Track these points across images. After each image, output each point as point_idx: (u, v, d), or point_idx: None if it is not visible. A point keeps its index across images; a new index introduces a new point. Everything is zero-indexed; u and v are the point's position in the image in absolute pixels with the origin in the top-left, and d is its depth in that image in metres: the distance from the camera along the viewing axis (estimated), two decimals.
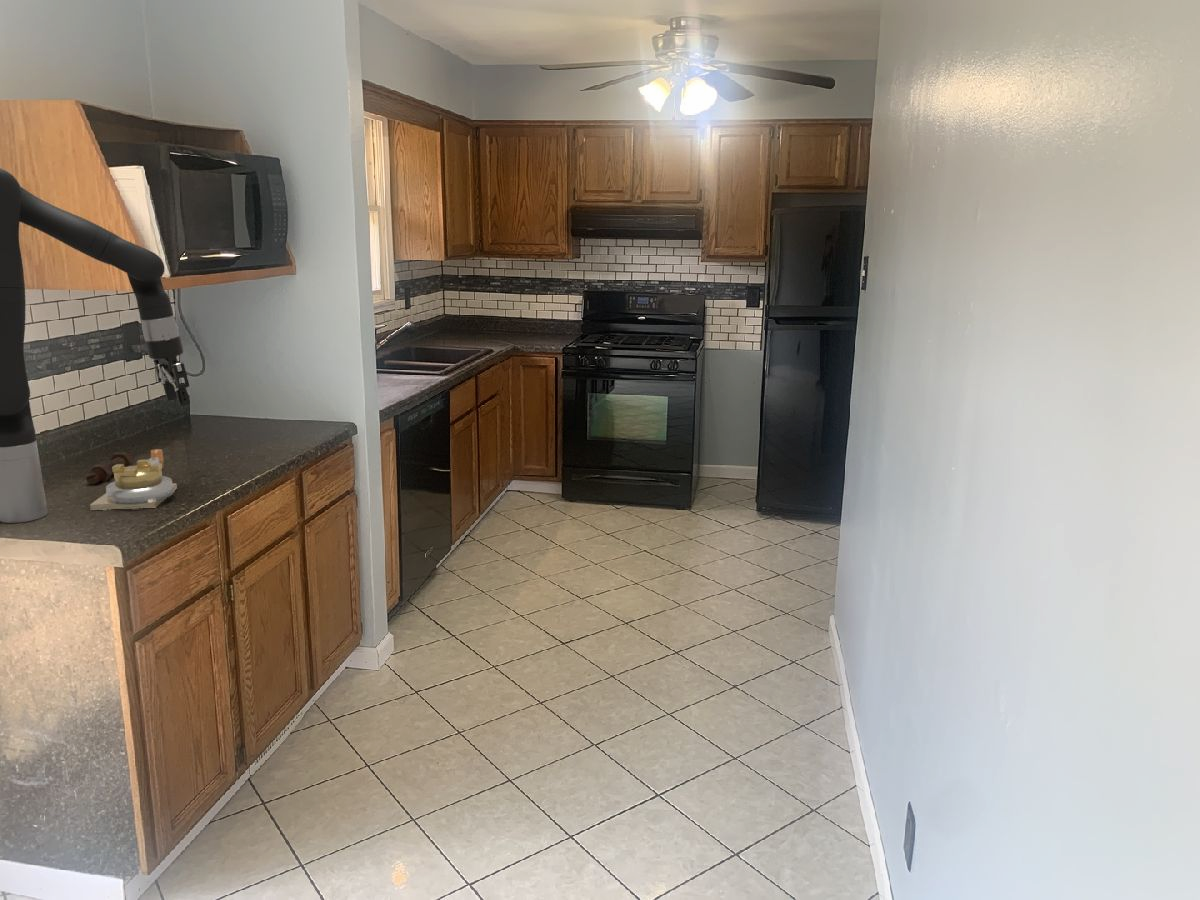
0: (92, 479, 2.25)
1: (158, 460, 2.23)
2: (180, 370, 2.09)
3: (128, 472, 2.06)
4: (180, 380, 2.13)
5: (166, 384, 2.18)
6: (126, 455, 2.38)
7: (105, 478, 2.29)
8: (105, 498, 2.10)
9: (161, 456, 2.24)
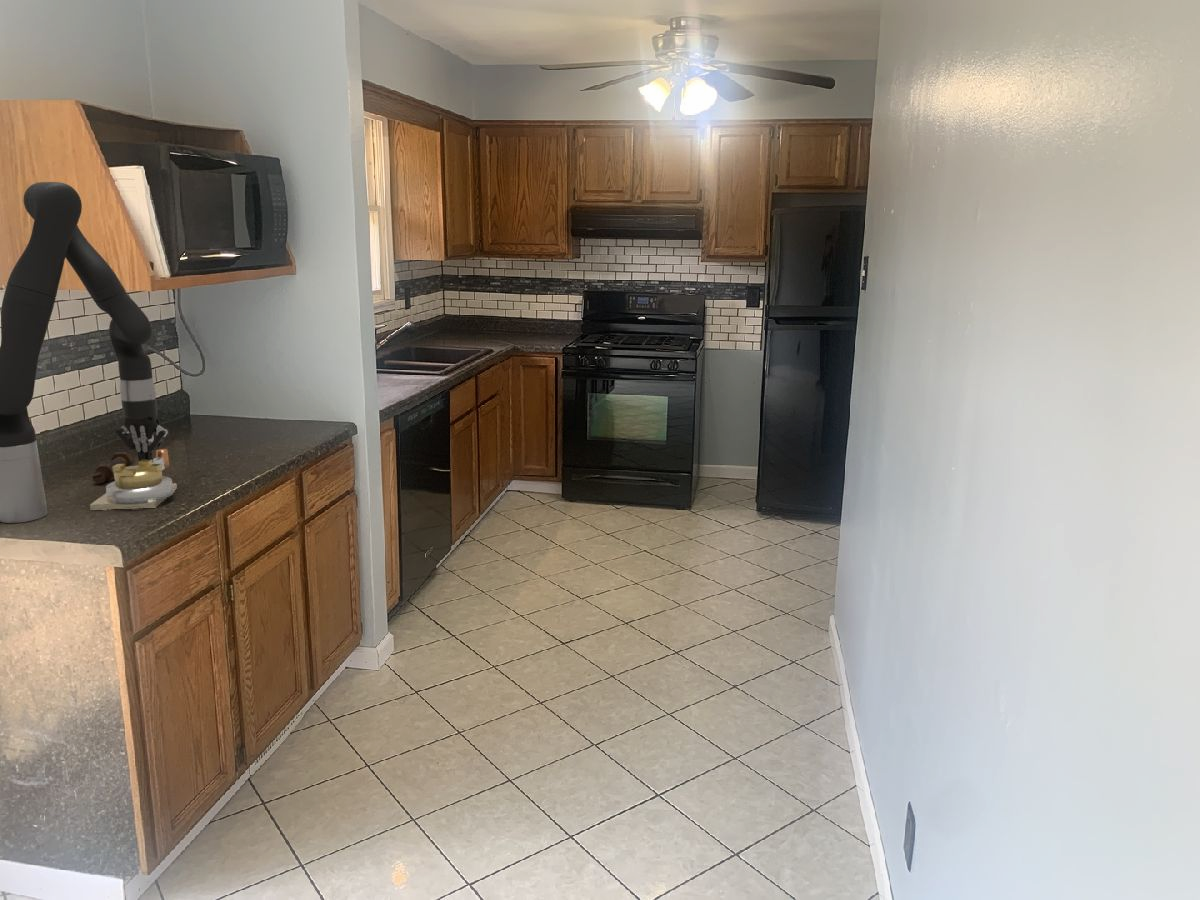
0: (98, 478, 2.26)
1: (162, 460, 2.23)
2: (164, 436, 2.19)
3: (126, 472, 2.06)
4: None
5: (142, 450, 2.20)
6: (127, 454, 2.38)
7: (110, 477, 2.29)
8: (105, 498, 2.10)
9: (166, 456, 2.24)
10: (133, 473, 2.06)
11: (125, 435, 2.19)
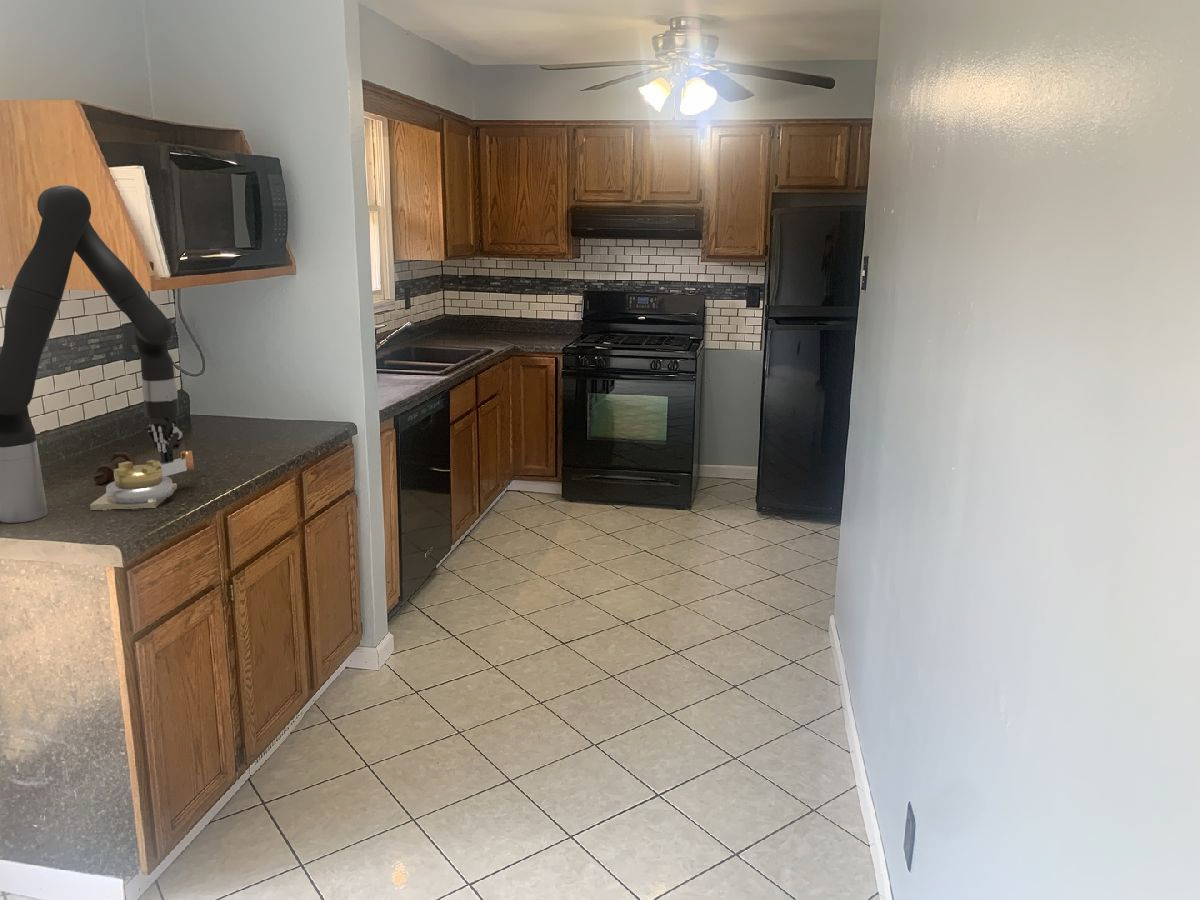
0: (100, 479, 2.26)
1: (183, 462, 2.21)
2: (179, 439, 2.17)
3: (116, 471, 2.07)
4: (169, 441, 2.20)
5: None
6: (127, 455, 2.39)
7: (112, 477, 2.29)
8: (105, 498, 2.10)
9: (188, 458, 2.22)
10: (122, 473, 2.06)
11: (151, 433, 2.20)
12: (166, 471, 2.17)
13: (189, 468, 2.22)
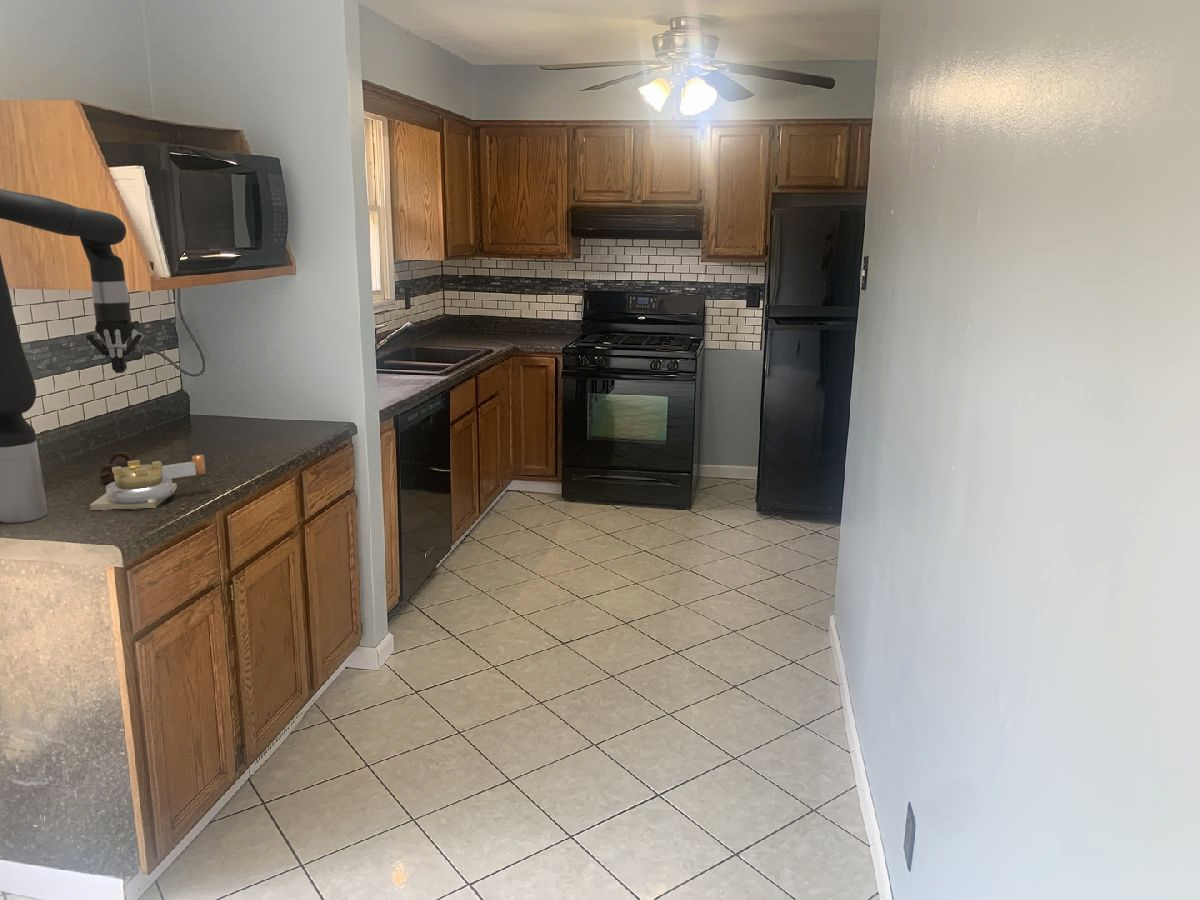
0: (107, 478, 2.26)
1: (192, 466, 2.17)
2: (139, 341, 2.17)
3: (112, 469, 2.08)
4: None
5: (116, 356, 2.16)
6: (127, 454, 2.39)
7: None
8: (105, 498, 2.10)
9: (197, 463, 2.18)
10: (116, 472, 2.07)
11: (97, 341, 2.14)
12: (171, 474, 2.15)
13: (198, 473, 2.18)
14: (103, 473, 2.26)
